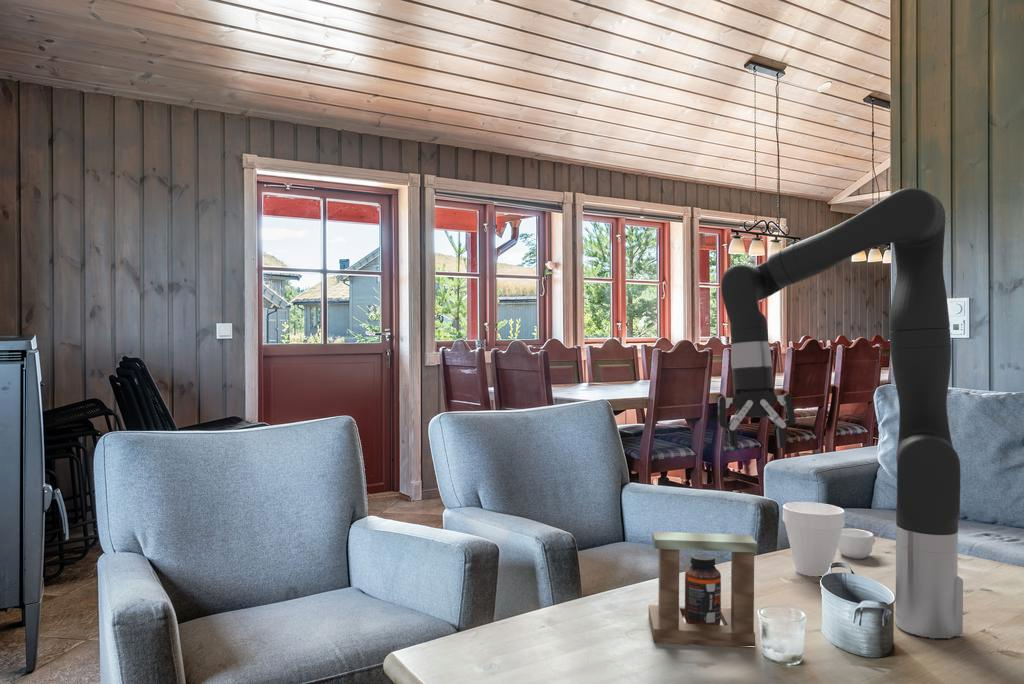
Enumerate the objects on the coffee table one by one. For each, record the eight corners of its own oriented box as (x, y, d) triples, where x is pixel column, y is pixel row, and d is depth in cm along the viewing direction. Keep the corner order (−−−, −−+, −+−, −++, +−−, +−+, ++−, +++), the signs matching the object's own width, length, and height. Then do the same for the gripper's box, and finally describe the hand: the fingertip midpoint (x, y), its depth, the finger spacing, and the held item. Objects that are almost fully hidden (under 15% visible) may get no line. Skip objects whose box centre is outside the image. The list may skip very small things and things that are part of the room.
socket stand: (741, 621, 129) (742, 524, 129) (756, 650, 117) (757, 543, 117) (648, 617, 130) (649, 521, 130) (654, 645, 119) (654, 539, 118)
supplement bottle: (721, 631, 122) (721, 562, 122) (684, 628, 123) (684, 560, 123) (720, 618, 127) (720, 552, 128) (684, 615, 129) (684, 550, 129)
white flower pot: (825, 585, 148) (826, 517, 148) (770, 570, 158) (771, 506, 158) (855, 573, 156) (855, 509, 156) (801, 560, 165) (801, 499, 165)
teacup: (854, 562, 164) (855, 538, 164) (828, 553, 171) (828, 530, 171) (888, 558, 167) (888, 534, 167) (860, 549, 175) (861, 526, 175)
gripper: (717, 367, 142) (723, 451, 141) (793, 362, 141) (801, 448, 139) (712, 368, 150) (718, 449, 148) (784, 364, 148) (791, 446, 147)
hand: (758, 448), depth 144 cm, fingers open, 8 cm apart
